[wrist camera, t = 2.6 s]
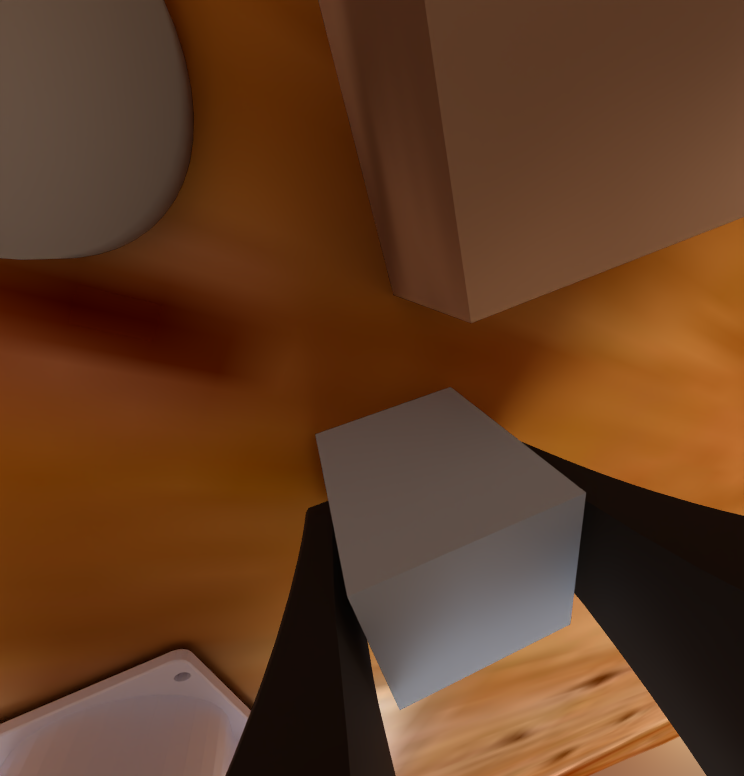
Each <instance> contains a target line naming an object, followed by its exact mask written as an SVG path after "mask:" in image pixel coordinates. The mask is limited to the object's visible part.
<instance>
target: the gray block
mask: <svg viewBox="0 0 744 776" xmlns="http://www.w3.org/2000/svg"><path fill="white" fill-rule="evenodd" d="M315 435H316V440H317V445H318V450H319V455H320V460H321V466H322V471H323V476H324V481H325V486H326V491H327V496H328V501H329V506H330V511H331V516H332V521H333V527H334V532H335V537H336V542H337V547H338V552H339V557H340V562H341V567H342V572H343V577H344V583H345V588H346V593H347V597H348V599H349V602H350V604H351V606H352V608H353V610H354V612H355V614H356V617H357V619H358V621H359V623H360V625H361V627H362V630H363V632H364V634H365V636H366V638H367V640H368V643H369V645H370V647H371V649H372V651H373V653H374V655H375V658H376V660H377V662H378V664H379V666H380V668H381V671H382V673H383V675H384V677H385V679H386V681H387V684H388V686H389V688H390V690H391V692H392V694H393V696H394V699H395V701H396V703H397V705H398V707H399V709H400V710H401V709H403V708H405V707H407V706H409V705H411V704H413V703H415V702H417V701H419V700H421V699H423V698H425V697H427V696H429V695H431V694H433V693H435V692H437V691H439V690H441V689H443V688H445V687H447V686H449V685H451V684H453V683H455V682H457V681H459V680H461V679H463V678H465V677H467V676H469V675H471V674H473V673H475V672H476V671H478V670H480V669H482V668H484V667H486V666H488V665H490V664H492V663H494V662H496V661H498V660H500V659H502V658H504V657H506V656H508V655H510V654H512V653H514V652H516V651H518V650H520V649H522V648H524V647H526V646H528V645H530V644H532V643H534V642H536V641H538V640H540V639H542V638H544V637H546V636H548V635H550V634H552V633H554V632H556V631H558V630H560V629H562V628H564V627H566V626H568V625H570V622H571V614H572V605H573V597H574V589H575V580H576V572H577V564H578V556H579V547H580V539H581V531H582V522H583V514H584V506H585V498H586V492H585V491H583V490H582V489H581V488H579V487H578V486H577V485H576V484H574V483H573V482H572V481H570V480H569V479H568V478H567V477H565V476H564V475H563V474H562V473H560V472H559V471H558V470H556V469H555V468H554V467H553V466H551V465H550V464H549V463H547V462H546V461H545V460H544V459H542V458H541V457H540V456H538V455H537V454H536V453H535V452H533V451H532V450H531V449H530V448H528V447H527V446H526V445H524V444H523V443H522V442H521V441H519V440H518V439H517V438H515V437H514V436H513V435H512V434H510V433H509V432H508V431H506V430H505V429H504V428H503V427H501V426H500V425H499V424H497V423H496V422H495V421H494V420H492V419H491V418H490V417H489V416H487V415H486V414H485V413H483V412H482V411H481V410H480V409H478V408H477V407H476V406H474V405H473V404H472V403H471V402H469V401H468V400H467V399H465V398H464V397H463V396H462V395H460V394H459V393H458V392H456V391H455V390H454V389H453V388H451V387H449V388H446V389H443V390H440V391H437V392H435V393H432V394H429V395H426V396H423V397H420V398H417V399H415V400H412V401H409V402H406V403H403V404H400V405H397V406H395V407H392V408H389V409H386V410H383V411H380V412H377V413H375V414H372V415H369V416H366V417H363V418H360V419H358V420H355V421H352V422H349V423H346V424H343V425H340V426H338V427H335V428H332V429H329V430H326V431H323V432H320V433H318V434H315Z"/></svg>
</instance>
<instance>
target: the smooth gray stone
mask: <svg viewBox="0 0 744 776" xmlns="http://www.w3.org/2000/svg"><path fill="white" fill-rule="evenodd" d="M193 125H194V112H193V102H192V92H191V85H190V80H189V75H188V71H187V66H186V61H185V57H184V54H183V51H182V48H181V44H180V41H179V38H178V35H177V32H176V28H175V26H174V24H173V21H172V19H171V16H170V14H169V12H168V9H167V7H166V4H165V2H164V0H0V258H6V259H19V260H23V259H60V258H79V257H85V256H91V255H97V254H101V253H104V252H107V251H111V250H114V249H117V248H119V247H121V246H123V245H125V244H128V243H130V242H132V241H134V240H136V239H137V238H138V237H140V236H141V235H143V234H144V233H145V232H147V231H148V230H150V229H151V228H152V227H153V226H154V225H155V224H156V223H157V222H158V221H159V220H160V219H161V218H162V217H163V216H164V215H165V213H166V212H167V210H168V209H169V208H170V206H171V205H172V203H173V202H174V200H175V199H176V197H177V195H178V193H179V191H180V188H181V186H182V184H183V182H184V179H185V176H186V173H187V169H188V166H189V163H190V157H191V150H192V144H193Z"/></svg>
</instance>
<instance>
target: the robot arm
mask: <svg viewBox="0 0 744 776" xmlns="http://www.w3.org/2000/svg"><path fill="white" fill-rule="evenodd" d="M522 443H523V442H522ZM523 444H524V445H526V446H527V447H528V448H530V449H531V450H532V451H533V452H535V453H536V454H537V455H538V456H540V457H541V458H542V459H544V460H545V461H546V462H547V463H549V464H550V465H551V466H553V467H554V468H555V469H556V470H558V471H559V472H560V473H562V474H563V475H564V476H565V477H567V478H568V479H569V480H570V481H572V482H573V483H574V484H576V485H577V486H578V487H579V488H581V489H582V490H583V491H585V492H586V498H585V506H584V514H583V522H582V531H581V539H580V547H579V556H578V564H577V572H576V580H575V589H574V593H575V594H576V596H577V597H578V598H579V599H580V600H581V602H582V603H583V604H584V605H585V607H586V608H587V609H588V611H589V612H590V613H591V614H592V616H593V617H594V618H595V620H596V621H597V622H598V624H599V625H600V626H601V628H602V629H603V630H604V632H605V633H606V634H607V636H608V637H609V638H610V640H611V641H612V642H613V643H614V645H615V646H616V648H617V649H618V650H619V652H620V653H621V654H622V656H623V657H624V659H625V660H626V661H627V663H628V664H629V665H630V667H631V668H632V669H633V671H634V672H635V674H636V675H637V676H638V678H639V679H640V680H641V682H642V683H643V684H644V686H645V687H646V689H647V690H648V691H649V693H650V694H651V696H652V697H653V699H654V700H655V701H656V703H657V704H658V706H659V707H660V709H661V710H662V711H663V713H664V714H665V716H666V717H667V719H668V720H669V721H670V723H671V724H672V726H673V727H674V729H675V730H676V731H677V733H678V734H679V736H680V737H681V738H682V740H683V741H684V743H685V744H686V746H687V747H688V749H689V750H690V752H691V753H692V754H693V756H694V758H695V759H696V761H697V762H698V763H699V765H700V766H701V768H702V769H703V771H704V772H705V774H706V775H707V776H744V516H742V515H738V514H734V513H729V512H725V511H721V510H717V509H714V508H710V507H706V506H702V505H699V504H695V503H691V502H688V501H685V500H681V499H678V498H674V497H671V496H668V495H664V494H661V493H657V492H654V491H651V490H648V489H645V488H641V487H638V486H635V485H632V484H629V483H627V482H624V481H621V480H618V479H615V478H612V477H609V476H606V475H604V474H601V473H598V472H596V471H593V470H590V469H587V468H585V467H582V466H580V465H577V464H575V463H572V462H569V461H567V460H564V459H562V458H559V457H557V456H555V455H552V454H550V453H547V452H545V451H542V450H540V449H538V448H535V447H533V446H530V445H528V444H526V443H523ZM0 776H395V771H394V767H393V763H392V759H391V755H390V751H389V746H388V742H387V738H386V734H385V730H384V725H383V721H382V717H381V713H380V709H379V704H378V699H377V694H376V689H375V684H374V679H373V673H372V667H371V660H370V654H369V648H368V642H367V638H366V636H365V634H364V632H363V630H362V627H361V625H360V623H359V621H358V619H357V617H356V614H355V612H354V610H353V608H352V606H351V604H350V602H349V599H348V597H347V593H346V588H345V583H344V577H343V572H342V567H341V562H340V557H339V552H338V547H337V542H336V537H335V532H334V527H333V521H332V516H331V511H330V506H329V501H326V502H324V503H321V504H318V505H316V506H313V507H310V508H308V510H307V512H306V517H305V524H304V531H303V537H302V542H301V547H300V552H299V556H298V561H297V565H296V569H295V573H294V577H293V582H292V586H291V590H290V593H289V597H288V601H287V604H286V607H285V611H284V614H283V618H282V621H281V624H280V628H279V631H278V635H277V638H276V641H275V644H274V647H273V650H272V653H271V656H270V659H269V662H268V665H267V668H266V671H265V674H264V677H263V680H262V682H261V685H260V688H259V691H258V693H257V696H256V699H255V702H254V704H253V707H252V710H250V709H249V708H248V707H247V706H246V705H245V704H244V703H243V702H242V701H241V700H240V699H239V698H238V697H237V696H236V695H235V694H234V693H233V692H232V691H231V690H230V689H228V688H227V687H226V686H225V685H224V684H223V683H222V682H221V681H220V680H219V679H218V678H217V677H216V676H215V675H214V674H213V673H212V672H211V671H210V670H209V669H208V668H207V667H206V666H205V665H204V664H203V663H202V662H201V661H200V660H199V659H198V658H197V657H196V656H195V655H194V654H193V653H192V652H191V651H189V650H186V649H177V650H174V651H171V652H169V653H166V654H164V655H161V656H159V657H157V658H154V659H152V660H150V661H147V662H145V663H143V664H140V665H138V666H136V667H133V668H131V669H129V670H126V671H124V672H121V673H119V674H117V675H114V676H112V677H110V678H107V679H105V680H103V681H100V682H98V683H96V684H93V685H91V686H89V687H86V688H84V689H81V690H79V691H77V692H74V693H72V694H70V695H67V696H65V697H63V698H60V699H58V700H56V701H53V702H51V703H48V704H46V705H44V706H41V707H39V708H37V709H34V710H32V711H30V712H27V713H25V714H23V715H20V716H18V717H16V718H13V719H11V720H8V721H6V722H4V723H1V724H0Z"/></svg>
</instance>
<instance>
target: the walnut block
mask: <svg viewBox="0 0 744 776" xmlns="http://www.w3.org/2000/svg"><path fill="white" fill-rule="evenodd" d="M318 1H319V5H320V9H321V13H322V17H323V21H324V25H325V29H326V33H327V37H328V40H329V44H330V48H331V52H332V56H333V60H334V64H335V68H336V72H337V76H338V80H339V84H340V87H341V91H342V95H343V99H344V103H345V107H346V111H347V115H348V119H349V123H350V127H351V131H352V134H353V138H354V142H355V146H356V150H357V154H358V158H359V162H360V166H361V170H362V174H363V177H364V181H365V185H366V189H367V193H368V197H369V201H370V205H371V209H372V213H373V217H374V221H375V224H376V228H377V232H378V236H379V240H380V244H381V248H382V252H383V256H384V260H385V264H386V268H387V271H388V275H389V279H390V283H391V287H392V291H393V295H395V296H398V297H401V298H404V299H406V300H409V301H412V302H415V303H417V304H420V305H423V306H425V307H428V308H431V309H434V310H436V311H439V312H442V313H445V314H447V315H450V316H453V317H456V318H458V319H461V320H464V321H466V322H469V323H473V322H476V321H478V320H481V319H483V318H486V317H489V316H491V315H494V314H496V313H499V312H501V311H504V310H506V309H509V308H512V307H514V306H517V305H519V304H522V303H524V302H527V301H530V300H532V299H535V298H537V297H540V296H542V295H545V294H547V293H550V292H553V291H555V290H558V289H560V288H563V287H565V286H568V285H571V284H573V283H576V282H578V281H581V280H583V279H586V278H588V277H591V276H594V275H596V274H599V273H601V272H604V271H606V270H609V269H611V268H614V267H617V266H619V265H622V264H624V263H627V262H629V261H632V260H635V259H637V258H640V257H642V256H645V255H647V254H650V253H652V252H655V251H658V250H660V249H663V248H665V247H668V246H670V245H673V244H676V243H678V242H681V241H683V240H686V239H688V238H691V237H693V236H696V235H699V234H701V233H704V232H706V231H709V230H711V229H714V228H717V227H719V226H722V225H724V224H727V223H729V222H732V221H734V220H737V219H740V218H742V217H744V0H318Z"/></svg>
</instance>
